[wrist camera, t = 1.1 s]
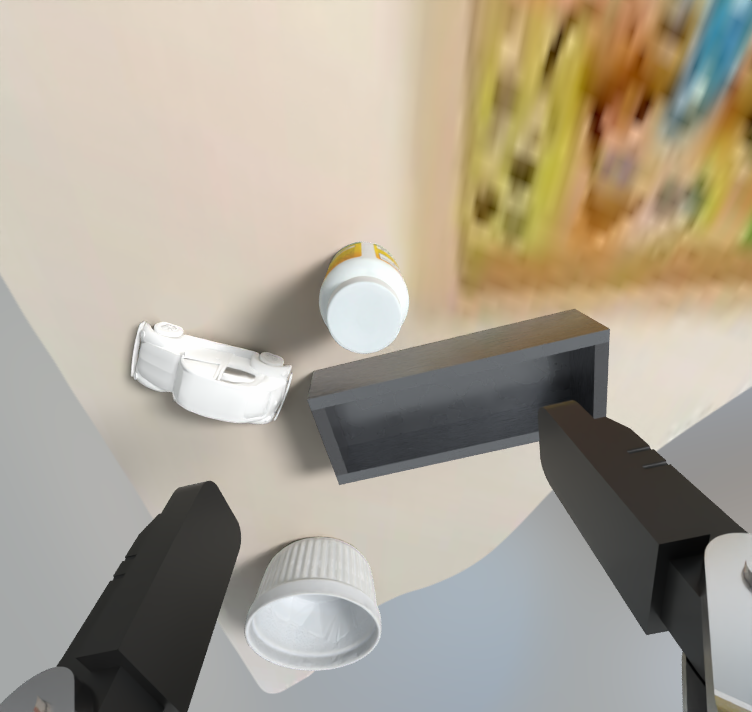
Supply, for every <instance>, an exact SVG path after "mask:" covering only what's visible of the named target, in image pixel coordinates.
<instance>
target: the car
mask: <svg viewBox="0 0 752 712" xmlns="http://www.w3.org/2000/svg"><path fill="white" fill-rule="evenodd" d="M144 324H145V325H144ZM140 339H141V342H142V343H141V347H140V351H139V345H140ZM138 351H139V357H138ZM137 357H138V361H137ZM283 364H284V360H283V358H282V357H280V356H278V355H275V354H272V353H269V352H263V353H261V354H260V356H259V353H257V352H255V351H252V350H248V349H243V348H239V347H235V346H231V345H227V344H223V343H219V342H214V341H210V340H206V339H202V338H198V337H194V336H190V335H186V334H183V328H181V327H179V326H176V325H173V324H170V323H167V322H158V323H156V324H155V325H154V330H153V329H152V328H151V325H150V324H149V323H147V322H145V321H143V322H142V323H140V324H139V328H138V331H137V335H136V339H135V344H134V350H133V356H132V365H131V377H134V380H136V379H137V380H138V381H139V382H140V383H141V384H142V385H144V386H146V387H148V388H150V389H152V390H155V391H159V392H171V393H172V394H173V398H174V400H175V401H176V403H177V404H178V405H180V406H181V407H183V408H184V409H186V410H188V411H190V412H193V413H196V414H199V415H201V416H204V417H208V418H212V419H216V420H221V421H225V422H233V423H242V424H244V423H250V424H267V423H269V422H271V421H272V420H273V417H274V414H275V413H277V414H276V416H275V418H274V420H276V418H277V416H278V414H279V412H280V410H281V408H282V406H283V403H284V401H285V398H286V395H287V392H288V390H289V386H290V383H291V379H292V375H293V373H291V374H290V378H289V381H288V380H287V379H288V376H289V373H290V370H291V368H292V365H285V366H283ZM287 384H288V385H287ZM286 387H287V389H286ZM174 400H173V401H174ZM281 402H282V403H281ZM280 404H281V405H280ZM279 406H280V407H279ZM278 408H279V410H278V412H275V411H276V410H277V409H278Z"/></svg>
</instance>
